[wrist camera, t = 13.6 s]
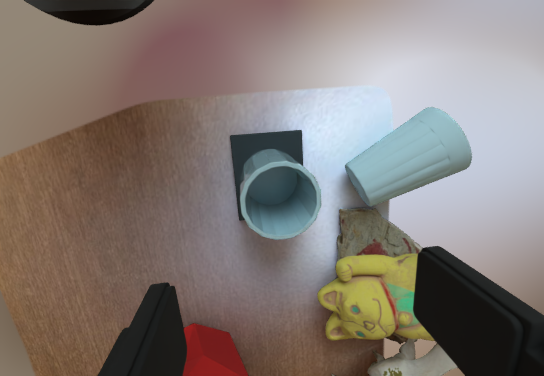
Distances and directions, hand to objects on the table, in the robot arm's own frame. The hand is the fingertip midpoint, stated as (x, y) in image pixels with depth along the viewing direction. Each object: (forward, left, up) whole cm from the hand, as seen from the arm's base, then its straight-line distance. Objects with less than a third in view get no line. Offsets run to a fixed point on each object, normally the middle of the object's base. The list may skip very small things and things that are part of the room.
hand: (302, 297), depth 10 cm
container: (0, +1, -22) cm, 22 cm away
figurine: (+13, +20, -16) cm, 29 cm away
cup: (+4, +13, -17) cm, 22 cm away
